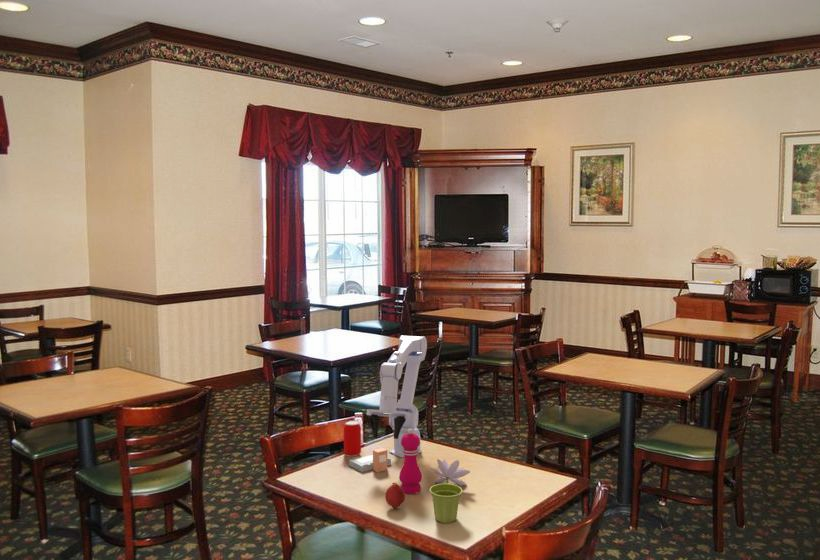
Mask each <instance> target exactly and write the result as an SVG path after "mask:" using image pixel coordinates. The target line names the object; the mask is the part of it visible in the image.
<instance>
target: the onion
mask: <svg viewBox="0 0 820 560" xmlns="http://www.w3.org/2000/svg"><path fill="white" fill-rule="evenodd" d="M391 484H392V485H390V486H389V487H388V488H387V490H386V491H385V494H384V496H385V501H386V503H387V504H388V505H389V506H390V507H391V508H392V509H396V510H397V509H398V508H399V507H400V506H402V505H403V503H404V502H405V500H406V499H405V498H406V494H405V493H404V490H403V489H402V488H401V485H399V484H397V482H392V483H391Z"/></svg>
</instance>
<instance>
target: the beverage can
mask: <svg viewBox="0 0 820 560" xmlns="http://www.w3.org/2000/svg"><path fill="white" fill-rule="evenodd" d="M361 427H362V426H361V425H360V423H359V422H358V421H355V420H352V421H351V420H350V421H347V422H345V424H344V426H343V454H344V456H347V457H349V456H350V457H351V458H353V457H354V456H355V457H357V456H359V455H360V454H361V453H362V438H361V437H362V432H361V431H362V430H361V429H362V428H361ZM355 457H354V458H355Z"/></svg>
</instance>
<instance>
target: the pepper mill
mask: <svg viewBox="0 0 820 560" xmlns="http://www.w3.org/2000/svg"><path fill="white" fill-rule="evenodd" d="M401 445H402V447H403V454H404V457H403V459H404V461H403V464H402V466H401V469H400V471H399V478H398V479H399V481H400V482H401V484H400V487H401V488H402V489H403V490H404V493H405V495H416V494H419V493H420V492H421V482H422V479H423V474H422V470H421V469H420V466H419V463H418V454H419V453H418V446H419V445H420V446H421V438H420V439H419V437H418V436H417V435H416V434H414V433H413V430H412V429H408V433H407V434H405V435H404V436H403V437H402V439H401Z"/></svg>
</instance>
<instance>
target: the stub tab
mask: <svg viewBox="0 0 820 560" xmlns="http://www.w3.org/2000/svg"><path fill="white" fill-rule="evenodd" d="M372 454H373V471H374V472H376V473H381V471H382V472H385V471H388V469H389V468H388V467H389V465H388V466H387V458H388V449H386V448H384V447H380V448H375V449H372Z"/></svg>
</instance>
